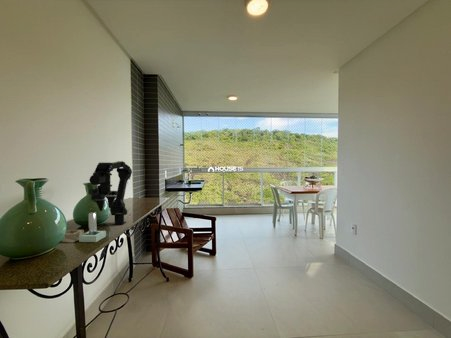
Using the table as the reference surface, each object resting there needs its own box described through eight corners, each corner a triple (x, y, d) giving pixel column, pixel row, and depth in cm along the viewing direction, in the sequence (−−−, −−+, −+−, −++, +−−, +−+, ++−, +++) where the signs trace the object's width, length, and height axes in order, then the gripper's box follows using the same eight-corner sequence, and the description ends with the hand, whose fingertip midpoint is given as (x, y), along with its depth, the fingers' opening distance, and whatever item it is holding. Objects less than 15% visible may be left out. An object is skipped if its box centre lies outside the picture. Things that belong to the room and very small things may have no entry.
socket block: (90, 236, 123) (90, 230, 123) (105, 236, 123) (105, 230, 123) (78, 241, 114) (78, 236, 114) (96, 242, 114) (95, 236, 114)
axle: (91, 237, 121) (91, 212, 120) (98, 237, 120) (97, 212, 120) (87, 240, 117) (86, 213, 117) (94, 240, 117) (93, 213, 116)
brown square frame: (69, 236, 122) (69, 229, 122) (83, 236, 122) (83, 229, 122) (58, 242, 114) (58, 234, 114) (73, 242, 114) (73, 234, 114)
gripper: (101, 182, 141) (101, 206, 142) (81, 184, 123) (81, 212, 123) (118, 182, 141) (118, 206, 141) (100, 185, 122) (101, 213, 123)
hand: (105, 209), depth 132 cm, fingers open, 9 cm apart
